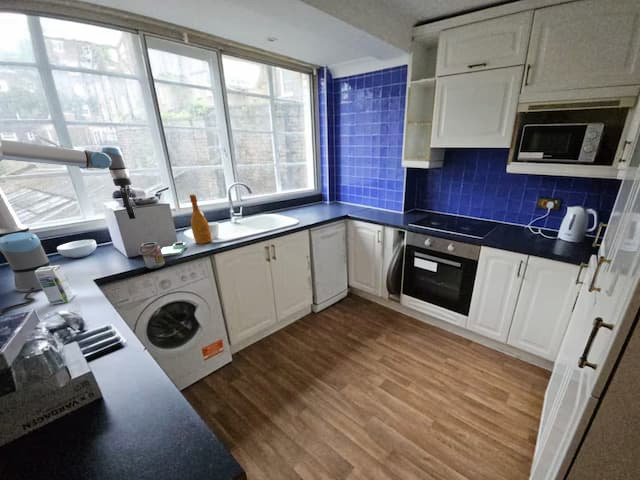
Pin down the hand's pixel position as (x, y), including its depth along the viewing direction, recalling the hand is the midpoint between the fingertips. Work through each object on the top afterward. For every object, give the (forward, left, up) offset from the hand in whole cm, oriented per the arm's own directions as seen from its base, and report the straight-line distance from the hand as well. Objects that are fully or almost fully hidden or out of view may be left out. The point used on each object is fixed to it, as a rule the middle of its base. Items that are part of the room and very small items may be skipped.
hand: (134, 216), depth 168 cm
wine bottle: (+5, -31, -21) cm, 38 cm away
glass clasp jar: (-32, -14, -21) cm, 41 cm away
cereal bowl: (+3, +34, -21) cm, 40 cm away
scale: (-9, -16, -21) cm, 28 cm away
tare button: (-5, -20, -18) cm, 27 cm away
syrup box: (-61, +11, -21) cm, 65 cm away
